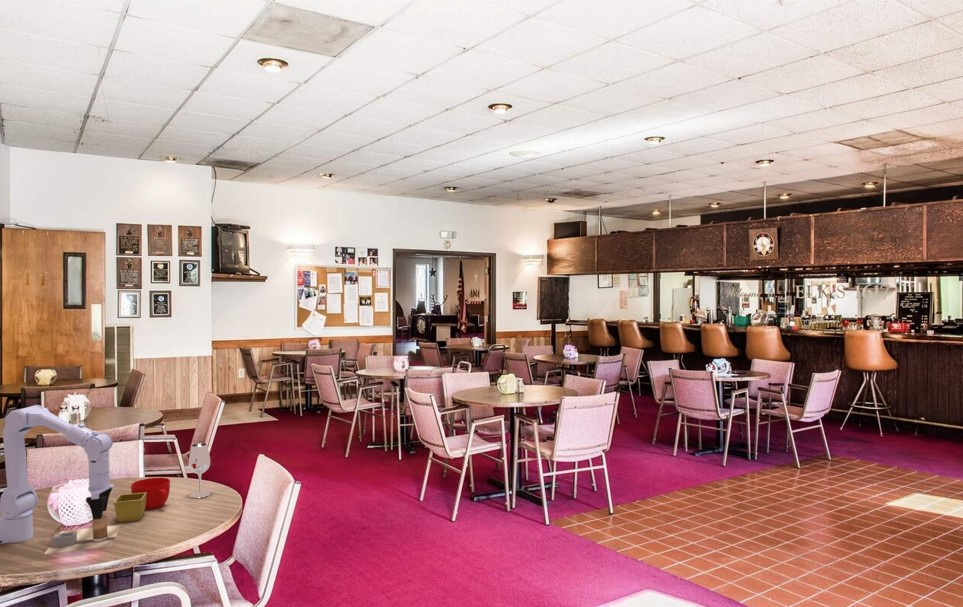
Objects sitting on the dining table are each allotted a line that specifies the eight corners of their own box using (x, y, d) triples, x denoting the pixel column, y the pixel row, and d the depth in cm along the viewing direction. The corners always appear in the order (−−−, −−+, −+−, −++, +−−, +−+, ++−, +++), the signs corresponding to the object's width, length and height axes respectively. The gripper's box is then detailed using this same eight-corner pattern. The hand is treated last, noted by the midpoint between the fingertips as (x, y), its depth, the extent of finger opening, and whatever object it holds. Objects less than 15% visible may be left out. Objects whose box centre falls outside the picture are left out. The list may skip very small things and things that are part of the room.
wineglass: (189, 493, 266) (188, 443, 265) (210, 491, 269) (209, 441, 268) (189, 499, 258) (188, 448, 258) (211, 496, 262) (210, 445, 261)
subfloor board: (43, 559, 203) (43, 554, 203) (60, 536, 222) (60, 531, 222) (110, 550, 209) (110, 546, 209) (121, 528, 228) (121, 524, 228)
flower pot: (113, 528, 229) (113, 502, 228) (120, 519, 237) (119, 494, 237) (142, 525, 231) (141, 499, 231) (147, 517, 239) (147, 492, 239)
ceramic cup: (147, 520, 236) (147, 492, 236) (124, 510, 246) (124, 483, 246) (183, 510, 246) (182, 483, 246) (159, 501, 257) (159, 475, 256)
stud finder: (51, 548, 208) (51, 537, 208) (55, 543, 211) (54, 533, 211) (73, 545, 210) (73, 535, 210) (76, 540, 213) (76, 530, 213)
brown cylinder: (106, 541, 212) (105, 518, 212) (90, 543, 211) (90, 519, 211) (109, 536, 217) (109, 513, 216) (94, 538, 215) (93, 515, 215)
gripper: (109, 477, 208) (109, 520, 208) (117, 465, 222) (118, 506, 222) (83, 479, 206) (83, 523, 206) (92, 467, 219) (93, 508, 220)
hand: (99, 514), depth 214 cm, fingers open, 7 cm apart
